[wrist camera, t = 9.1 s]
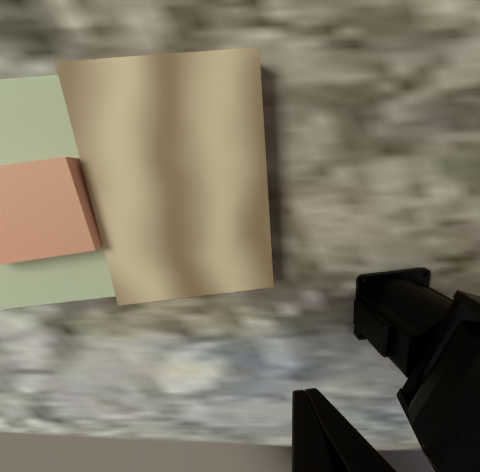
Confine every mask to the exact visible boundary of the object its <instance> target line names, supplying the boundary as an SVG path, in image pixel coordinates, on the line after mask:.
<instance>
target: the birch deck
mask: <svg viewBox="0 0 480 472" xmlns="http://www.w3.org/2000/svg"><path fill="white" fill-rule="evenodd" d="M55 65H56V68H57V72H58V76H59V80H60V84H61V88H62V91H63V95H64V99H65V103H66V107H67V111H68V115H69V118H70V122H71V126H72V130H73V134H74V138H75V142H76V145H77V149H78V153H79V157H80V161H81V165H82V169H83V172H84V176H85V180H86V184H87V188H88V192H89V195H90V199H91V203H92V207H93V211H94V215H95V219H96V222H97V226H98V230H99V234H100V238H101V242H102V246H103V249H104V253H105V257H106V261H107V265H108V269H109V272H110V276H111V280H112V284H113V288H114V292H115V296H116V299H117V303H118V305H127V304H135V303H144V302H152V301H161V300H169V299H178V298H186V297H195V296H203V295H212V294H220V293H229V292H237V291H246V290H254V289H263V288H271V287H274V283H273V266H272V249H271V233H270V216H269V199H268V183H267V166H266V149H265V132H264V116H263V99H262V82H261V65H260V49H259V47H256V48H242V49H228V50H214V51H201V52H187V53H173V54H159V55H145V56H131V57H118V58H104V59H90V60H76V61H62V62H55Z"/></svg>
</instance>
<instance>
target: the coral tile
mask: <svg viewBox="0 0 480 472" xmlns="http://www.w3.org/2000/svg"><path fill="white" fill-rule="evenodd" d="M100 247H102V242H101V238H100V234H99V230H98V226H97V222H96V219H95V215H94V211H93V207H92V203H91V199H90V195H89V192H88V188H87V184H86V180H85V176H84V172H83V169H82V165H81V161H80V158H72V157H59V158H52V159H45V160H38V161H30V162H23V163H16V164H9V165H2V166H0V265H2V264H9V263H16V262H22V261H29V260H35V259H42V258H49V257H55V256H62V255H68V254H75V253H82V252H88V251H95V250H97V249H99V248H100Z"/></svg>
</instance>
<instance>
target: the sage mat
mask: <svg viewBox="0 0 480 472" xmlns="http://www.w3.org/2000/svg"><path fill="white" fill-rule="evenodd" d="M59 157H72V158H80V157H79V153H78V149H77V145H76V142H75V138H74V134H73V130H72V126H71V122H70V118H69V115H68V111H67V107H66V103H65V99H64V95H63V91H62V88H61V84H60V80H59V76H58V75H52V76H38V77H25V78H12V79H0V166H2V165H9V164H16V163H23V162H30V161H38V160H45V159H52V158H59ZM113 296H115V292H114V288H113V284H112V280H111V276H110V272H109V269H108V265H107V261H106V257H105V253H104V249H103V246H102V247H100V248H99V249H97V250H95V251H88V252H82V253H75V254H68V255H62V256H55V257H49V258H42V259H35V260H29V261H22V262H16V263H9V264H2V265H0V310H1V309H10V308H18V307H27V306H36V305H44V304H53V303H62V302H70V301H79V300H88V299H96V298H105V297H113Z"/></svg>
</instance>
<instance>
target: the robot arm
mask: <svg viewBox="0 0 480 472" xmlns="http://www.w3.org/2000/svg"><path fill="white" fill-rule="evenodd" d="M423 273H424V274H423ZM422 274H423V275H422ZM430 274H431V273H430V270H428V269H426V268H414V269H405V270H397V271H388V272H380V273H371V274H362V275H360V276H358V278H357V280H356V298H355V300H354V321H353V323H354V325H355V326H354V335H355V336H356V337H357V339H359V340H364V339H367V340H368V341H369V342H370V343H371V344H372V345H373V346H374V348H375V349H376V350H377V351H378V352H379V353H380V354H381V355H382V356H383V357H389V358H390V359H391V361H392V362H393V363H394V364H395V365H396V366H397V367H398V368H399V369H400V370H401V372H402V373H403V374H404V375H405V376H406V377H408V379H407V381H406V383H405V384H404V386H403V388H402V389H401V388H400V389H399V391H398V393H397V397H398V400H399V402H400V404H401V406H402V408H403V410H404V412H405V414H406V416H407V418H408V420H409V422H410V425H411V427H412V429H413V431H414V433H415V435H416V437H417V439H418V441H419V443H420V445H421V448H422V450H423V452H424V454H425V456H426V457H427V459H428V461H429V462H430V464H431V465H432V467H433V468H434V470H435V471H436V472H480V296H476V295H473V294H469V293H466V292H463V291H459V290H457V291H456V293H455V295H454V296H453V298H454V300H452V299H450V298H448V297H447V296H445V295H443V294H441V293H439V292H437V291H435V290H434V289H432V288H430V287H429V282H430ZM363 279H365V280H364V282H362V280H363ZM360 333H361V334H360ZM359 334H360V335H359ZM292 472H396V471H395V470H394V469H393V468H392V467H391V466H390V464H389V463H388V462H387V461H386V460H385V459H384V458H383V457H382V456H381V455H380V454H379V453H378V452H377V451H376V450H375V449H374V448H373V447H372V446H371V445H370V444H369V443H368V442H367V440H366V439H365V438H364V437H363V436H362V435H361V434H360V433H359V432H358V431H357V430H356V429H355V428H354V427H353V426H352V425H351V424H350V423H349V422H348V421H347V420H346V419H345V418H344V416H343V415H342V414H341V413H340V412H339V411H338V410H337V409H336V408H335V407H334V406H333V405H332V404H331V403H330V402H329V401H328V400H327V399H326V398H325V397H324V396H323V395H322V394H321V393H320V391H319V390H318V389H316V388H311V389H305V391H304V390H296V391H293V400H292Z"/></svg>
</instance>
